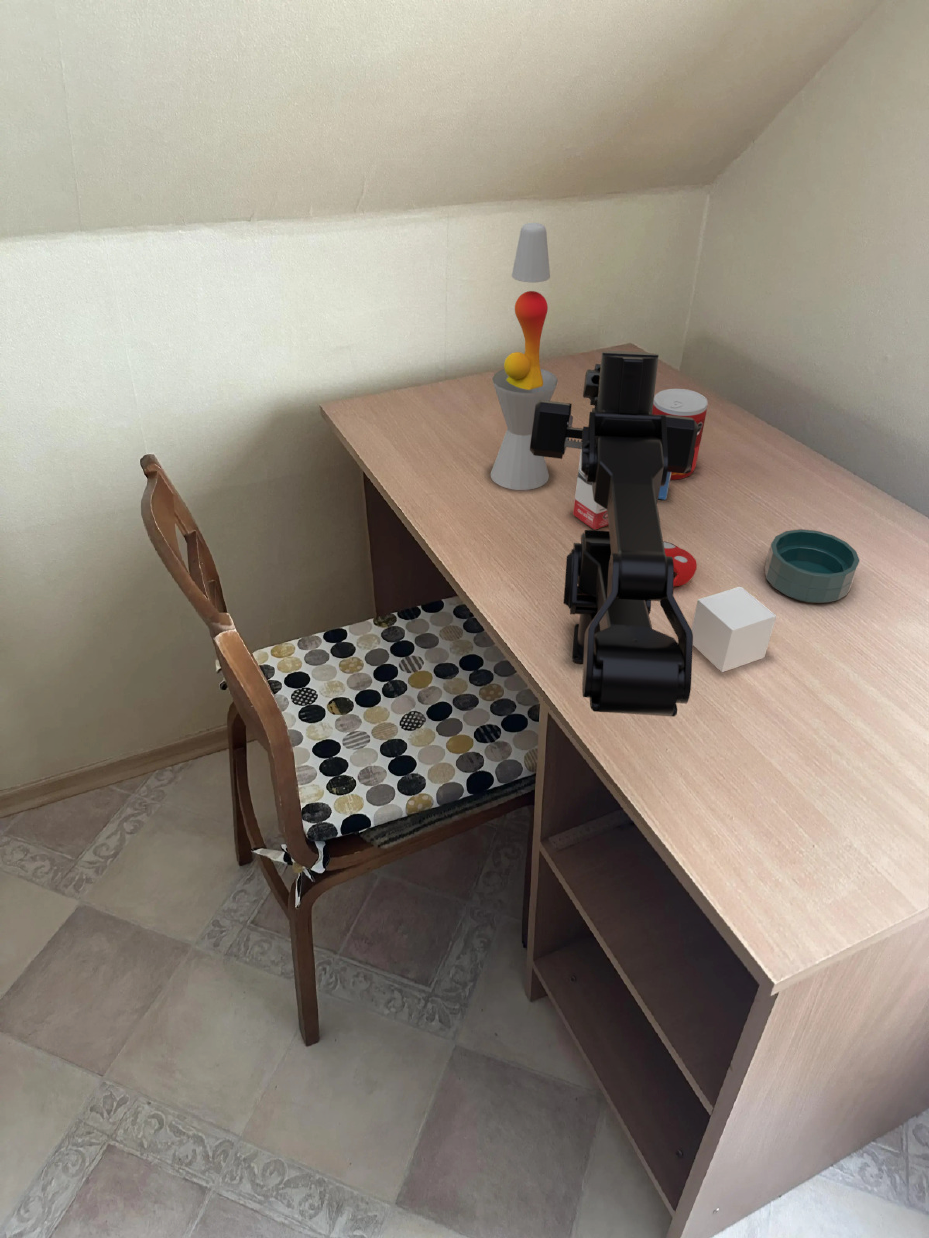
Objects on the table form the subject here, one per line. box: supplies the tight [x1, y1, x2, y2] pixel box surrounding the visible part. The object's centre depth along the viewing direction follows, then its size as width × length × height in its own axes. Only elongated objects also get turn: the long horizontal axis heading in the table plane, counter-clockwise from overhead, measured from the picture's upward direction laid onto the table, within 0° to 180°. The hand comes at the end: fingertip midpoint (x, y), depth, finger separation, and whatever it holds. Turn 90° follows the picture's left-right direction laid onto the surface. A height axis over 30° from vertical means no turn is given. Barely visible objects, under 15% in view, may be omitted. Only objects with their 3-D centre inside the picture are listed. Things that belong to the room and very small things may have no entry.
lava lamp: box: [490, 222, 559, 491], centre depth 122 cm, size 9×9×35 cm
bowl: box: [764, 528, 860, 604], centre depth 111 cm, size 10×10×4 cm
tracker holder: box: [663, 540, 698, 587], centre depth 112 cm, size 12×4×10 cm
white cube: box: [691, 586, 777, 673], centre depth 100 cm, size 6×6×6 cm
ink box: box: [572, 449, 609, 530], centre depth 120 cm, size 8×5×12 cm, turn 123°
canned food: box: [652, 388, 709, 481], centre depth 131 cm, size 8×8×11 cm
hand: (607, 425), depth 112 cm, fingers open, 9 cm apart
